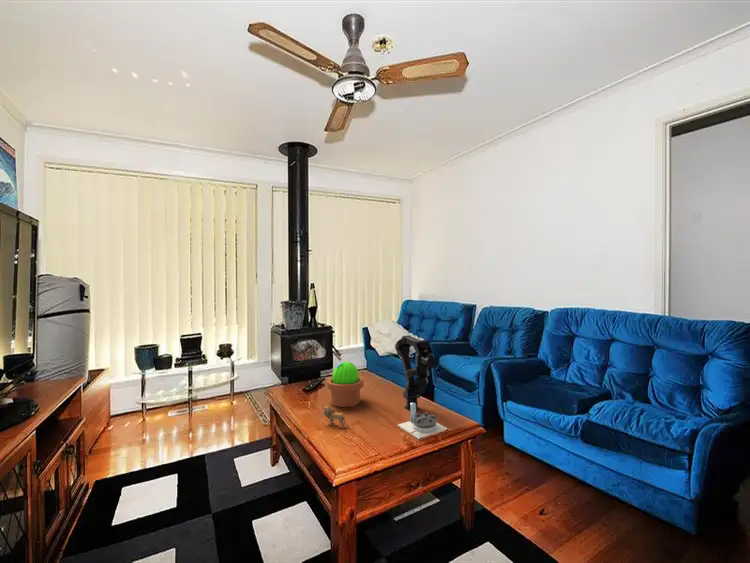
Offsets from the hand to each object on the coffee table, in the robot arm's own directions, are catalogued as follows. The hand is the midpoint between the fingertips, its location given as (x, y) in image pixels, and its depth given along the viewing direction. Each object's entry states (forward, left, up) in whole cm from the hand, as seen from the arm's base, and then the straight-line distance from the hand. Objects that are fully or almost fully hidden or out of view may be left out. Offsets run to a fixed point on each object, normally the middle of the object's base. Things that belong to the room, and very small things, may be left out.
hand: (422, 393), depth 189 cm
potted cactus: (-42, -26, -13) cm, 51 cm away
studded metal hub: (+12, -10, -10) cm, 19 cm away
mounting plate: (+11, -9, -13) cm, 19 cm away
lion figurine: (-16, -44, -13) cm, 49 cm away
